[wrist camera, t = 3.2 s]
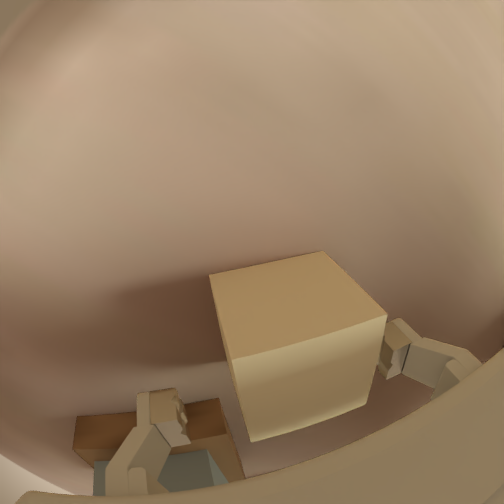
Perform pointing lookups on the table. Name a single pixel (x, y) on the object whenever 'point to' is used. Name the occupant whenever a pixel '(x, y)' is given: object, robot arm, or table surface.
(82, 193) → the table surface
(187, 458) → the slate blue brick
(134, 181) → the table surface
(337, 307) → the cream brick
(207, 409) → the walnut base brick
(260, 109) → the table surface
